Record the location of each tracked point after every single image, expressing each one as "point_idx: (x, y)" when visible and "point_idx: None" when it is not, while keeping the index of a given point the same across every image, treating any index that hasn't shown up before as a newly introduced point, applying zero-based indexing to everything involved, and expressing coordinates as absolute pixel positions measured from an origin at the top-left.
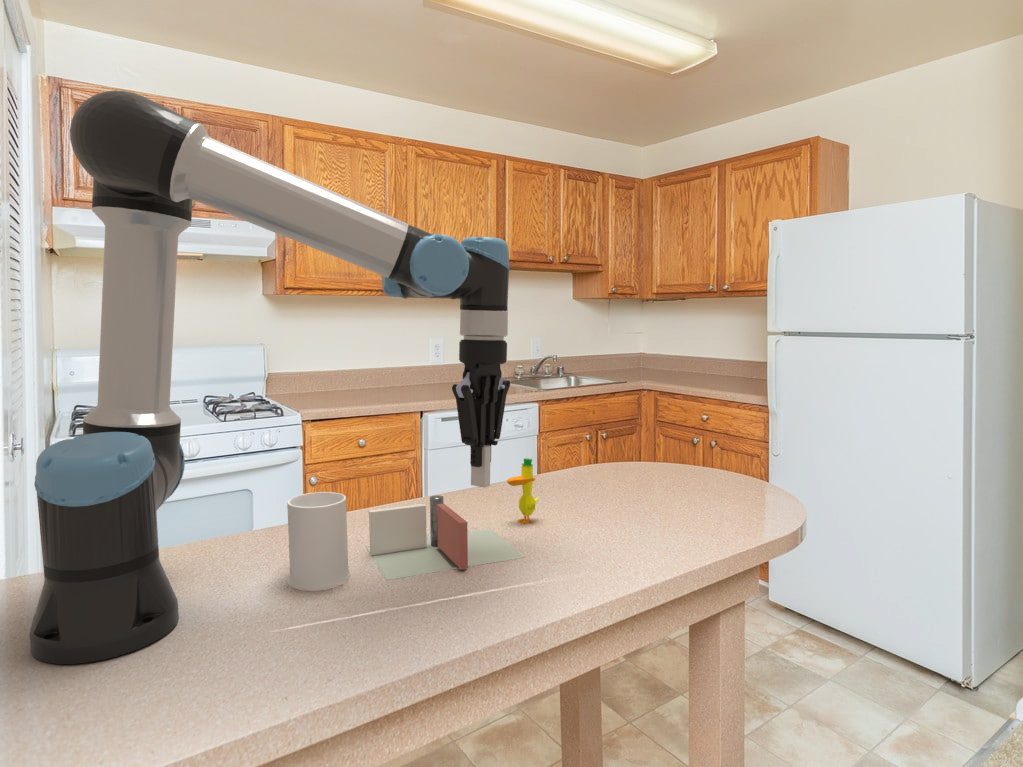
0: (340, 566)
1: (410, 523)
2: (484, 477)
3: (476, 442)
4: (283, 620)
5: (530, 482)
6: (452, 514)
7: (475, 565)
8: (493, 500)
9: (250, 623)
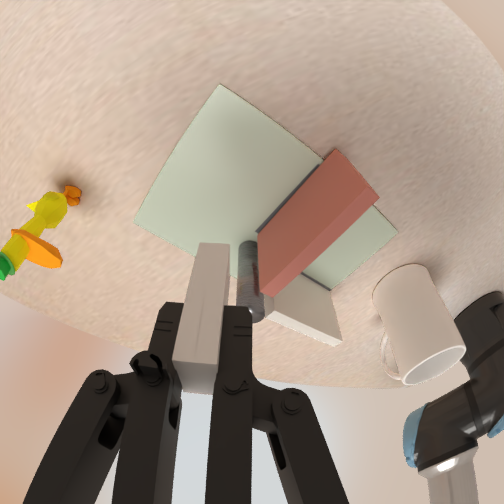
0: (420, 281)
1: (294, 298)
2: (226, 267)
3: (296, 397)
4: (474, 255)
5: (24, 229)
6: (326, 241)
7: (306, 146)
8: (51, 282)
9: (476, 270)
